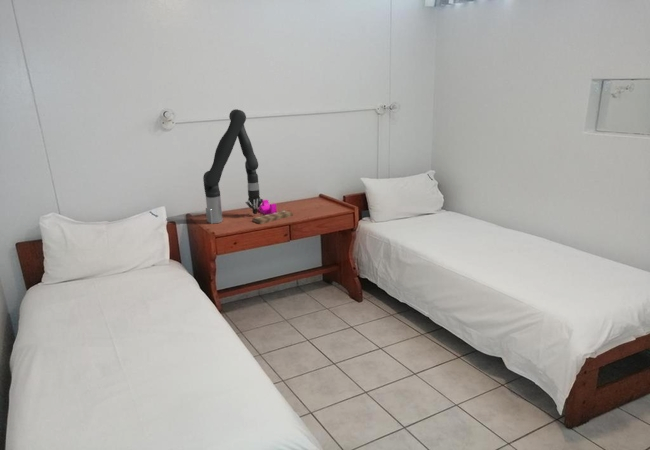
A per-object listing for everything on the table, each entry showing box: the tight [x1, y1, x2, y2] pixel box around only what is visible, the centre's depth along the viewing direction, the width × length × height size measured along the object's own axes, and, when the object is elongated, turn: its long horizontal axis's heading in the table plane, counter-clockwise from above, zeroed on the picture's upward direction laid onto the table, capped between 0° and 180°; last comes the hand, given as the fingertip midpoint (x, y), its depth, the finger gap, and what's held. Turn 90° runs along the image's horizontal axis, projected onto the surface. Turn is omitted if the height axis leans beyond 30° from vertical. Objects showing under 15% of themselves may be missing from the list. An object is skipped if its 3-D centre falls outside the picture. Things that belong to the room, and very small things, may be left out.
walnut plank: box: [252, 209, 293, 225], centre depth 310 cm, size 26×9×2 cm, turn 131°
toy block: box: [258, 199, 278, 215], centre depth 322 cm, size 15×6×8 cm, turn 33°
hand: (255, 213), depth 315 cm, fingers closed
